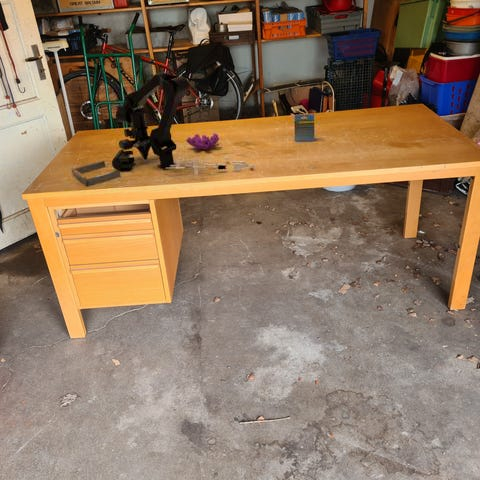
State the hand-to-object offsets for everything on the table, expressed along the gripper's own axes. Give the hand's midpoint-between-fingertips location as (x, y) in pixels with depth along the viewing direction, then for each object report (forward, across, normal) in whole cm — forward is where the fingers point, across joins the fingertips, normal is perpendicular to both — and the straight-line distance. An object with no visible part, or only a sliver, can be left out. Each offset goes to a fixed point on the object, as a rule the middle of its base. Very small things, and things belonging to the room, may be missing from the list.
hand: (145, 159), depth 199 cm
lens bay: (+1, +22, 0) cm, 22 cm away
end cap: (+1, +10, 0) cm, 10 cm away
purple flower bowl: (+1, -27, +4) cm, 28 cm away
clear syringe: (+2, -16, +27) cm, 32 cm away
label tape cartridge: (+1, -66, +29) cm, 72 cm away
